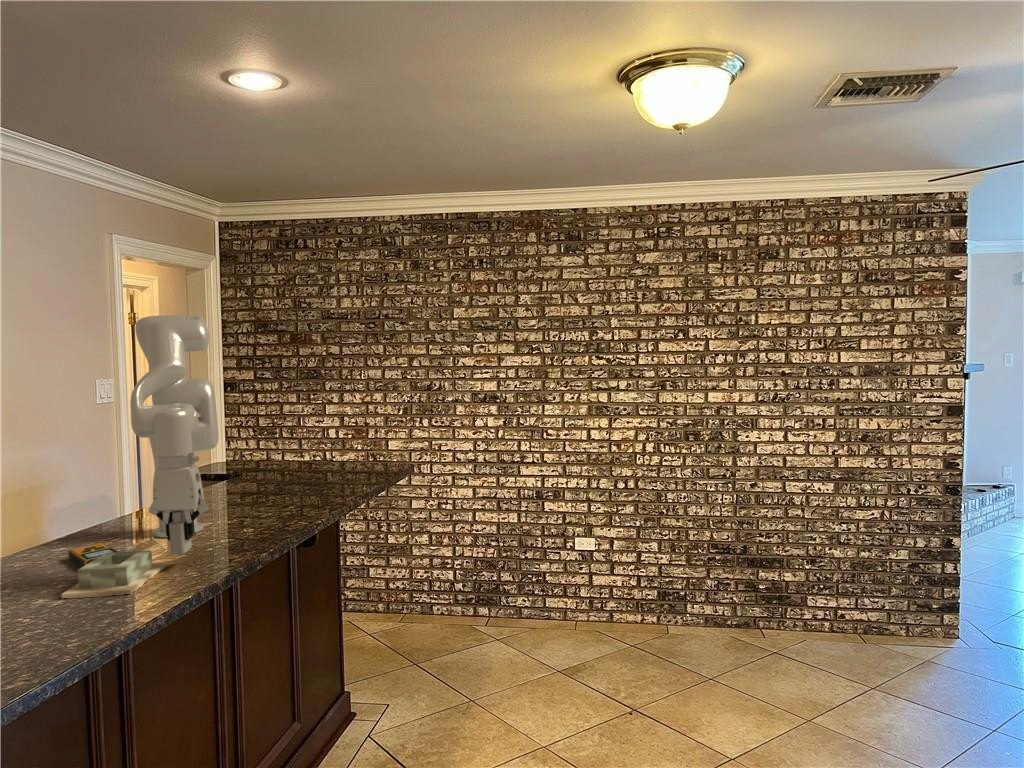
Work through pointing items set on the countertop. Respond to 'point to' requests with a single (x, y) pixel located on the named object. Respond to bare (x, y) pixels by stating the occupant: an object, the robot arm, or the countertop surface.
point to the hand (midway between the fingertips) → (180, 537)
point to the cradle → (114, 574)
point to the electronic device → (88, 553)
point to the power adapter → (178, 534)
